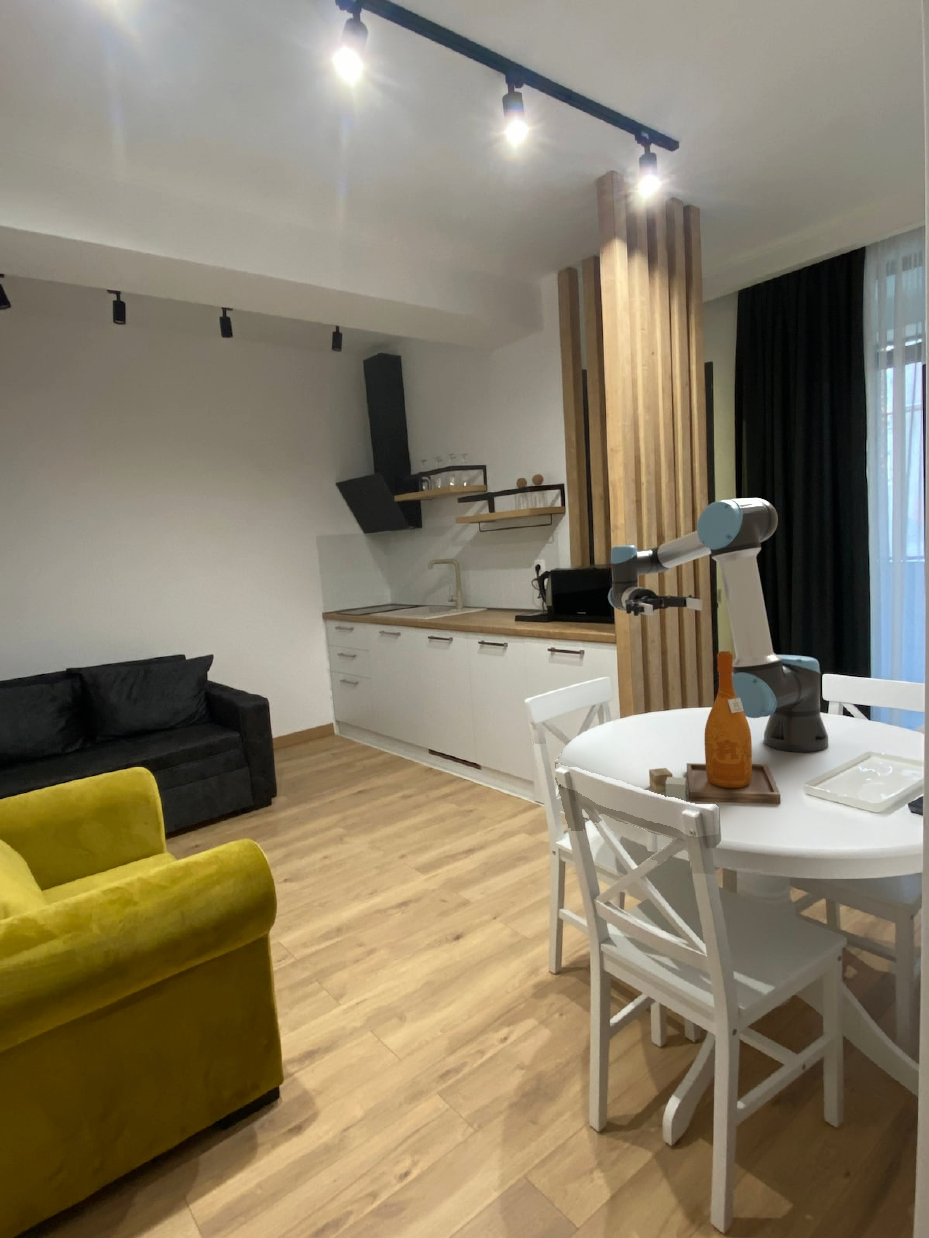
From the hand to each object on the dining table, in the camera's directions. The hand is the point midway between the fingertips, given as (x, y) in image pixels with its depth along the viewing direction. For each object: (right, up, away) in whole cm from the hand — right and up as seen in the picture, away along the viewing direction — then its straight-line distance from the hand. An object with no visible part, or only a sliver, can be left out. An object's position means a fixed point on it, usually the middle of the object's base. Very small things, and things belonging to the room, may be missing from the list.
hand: (676, 607), depth 176 cm
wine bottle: (+6, -40, -21) cm, 45 cm away
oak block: (-9, -42, -18) cm, 46 cm away
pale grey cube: (-7, -42, -24) cm, 49 cm away
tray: (+6, -41, -20) cm, 46 cm away
